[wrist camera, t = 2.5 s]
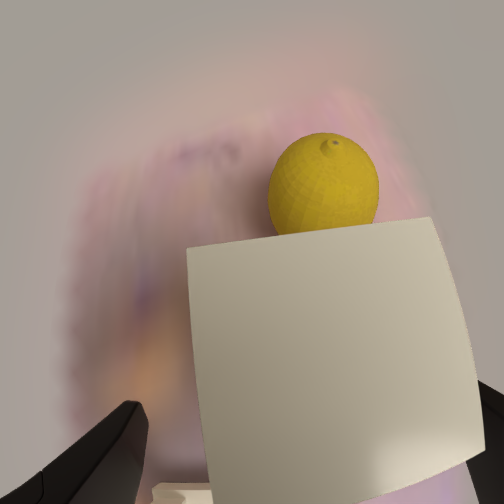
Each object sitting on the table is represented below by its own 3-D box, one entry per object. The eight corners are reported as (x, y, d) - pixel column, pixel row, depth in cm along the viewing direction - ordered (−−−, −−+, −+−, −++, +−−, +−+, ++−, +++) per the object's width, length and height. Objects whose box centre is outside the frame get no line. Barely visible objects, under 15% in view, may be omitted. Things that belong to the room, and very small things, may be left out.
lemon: (372, 233, 19) (418, 146, 12) (320, 297, 18) (356, 226, 10) (304, 184, 21) (318, 88, 14) (248, 239, 19) (238, 146, 12)
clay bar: (329, 415, 15) (485, 449, 3) (253, 427, 15) (216, 523, 3) (317, 344, 16) (430, 216, 5) (244, 355, 16) (186, 248, 5)
